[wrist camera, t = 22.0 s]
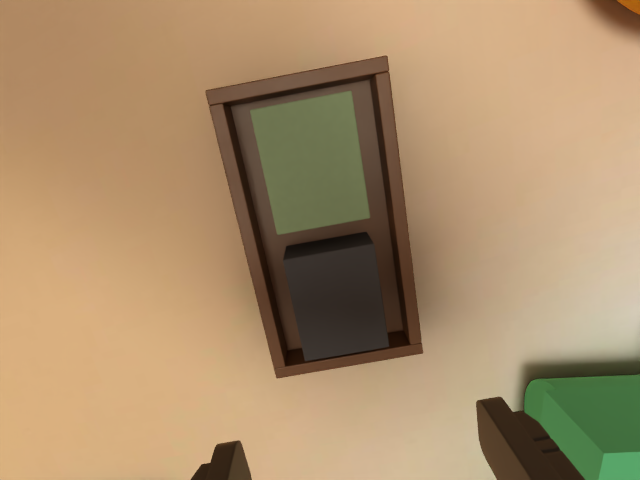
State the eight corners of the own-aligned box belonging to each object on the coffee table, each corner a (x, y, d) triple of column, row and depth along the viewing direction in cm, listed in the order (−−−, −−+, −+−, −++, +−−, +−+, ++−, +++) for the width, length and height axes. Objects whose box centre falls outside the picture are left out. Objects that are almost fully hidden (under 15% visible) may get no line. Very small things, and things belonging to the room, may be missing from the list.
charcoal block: (285, 245, 24) (282, 259, 22) (366, 231, 24) (374, 243, 21) (305, 337, 26) (304, 361, 23) (380, 324, 26) (389, 347, 23)
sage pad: (257, 113, 22) (249, 109, 19) (346, 96, 22) (351, 90, 19) (281, 223, 24) (277, 235, 21) (363, 209, 24) (370, 218, 21)
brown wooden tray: (216, 96, 22) (204, 90, 20) (379, 64, 22) (387, 55, 20) (279, 356, 27) (276, 378, 25) (413, 334, 27) (423, 353, 25)
